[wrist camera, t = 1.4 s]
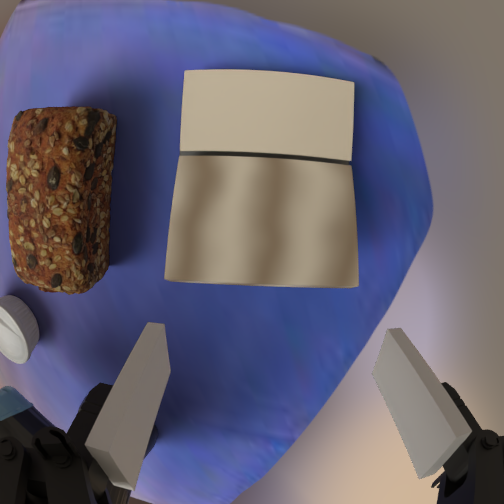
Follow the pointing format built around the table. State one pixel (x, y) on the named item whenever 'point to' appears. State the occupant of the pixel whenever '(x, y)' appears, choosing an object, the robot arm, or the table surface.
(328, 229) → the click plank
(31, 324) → the ramekin
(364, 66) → the table surface
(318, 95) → the floor base
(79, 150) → the bread
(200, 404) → the table surface
